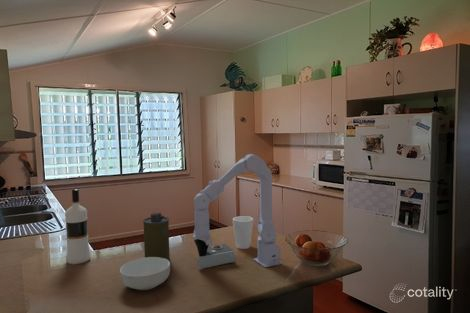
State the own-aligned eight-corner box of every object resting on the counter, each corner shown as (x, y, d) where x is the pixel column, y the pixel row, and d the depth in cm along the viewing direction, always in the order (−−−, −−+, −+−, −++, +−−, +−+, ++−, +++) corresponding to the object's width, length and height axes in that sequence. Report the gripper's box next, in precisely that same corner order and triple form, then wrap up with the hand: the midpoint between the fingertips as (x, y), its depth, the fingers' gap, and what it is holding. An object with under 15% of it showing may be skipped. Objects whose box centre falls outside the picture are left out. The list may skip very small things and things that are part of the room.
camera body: (233, 261, 137) (233, 248, 137) (210, 266, 133) (210, 252, 132) (225, 255, 145) (224, 242, 144) (203, 259, 140) (202, 246, 140)
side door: (234, 261, 136) (234, 251, 136) (198, 269, 129) (198, 257, 129) (233, 260, 137) (233, 250, 137) (197, 268, 130) (197, 257, 130)
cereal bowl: (151, 271, 129) (150, 253, 129) (180, 283, 119) (180, 263, 118) (110, 287, 116) (109, 267, 116) (139, 302, 106) (138, 280, 105)
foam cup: (253, 250, 150) (253, 221, 149) (232, 250, 151) (232, 221, 150) (252, 243, 160) (252, 216, 159) (233, 243, 160) (233, 216, 159)
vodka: (63, 266, 135) (59, 191, 133) (69, 257, 144) (65, 188, 142) (88, 263, 137) (85, 190, 135) (92, 255, 146) (89, 186, 144)
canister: (164, 266, 133) (162, 216, 132) (139, 265, 135) (137, 215, 134) (174, 256, 144) (173, 210, 142) (151, 255, 146) (150, 209, 144)
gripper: (186, 220, 138) (187, 253, 139) (198, 230, 126) (199, 265, 127) (202, 218, 142) (203, 250, 143) (216, 227, 129) (216, 262, 130)
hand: (202, 257), depth 135 cm, fingers closed
